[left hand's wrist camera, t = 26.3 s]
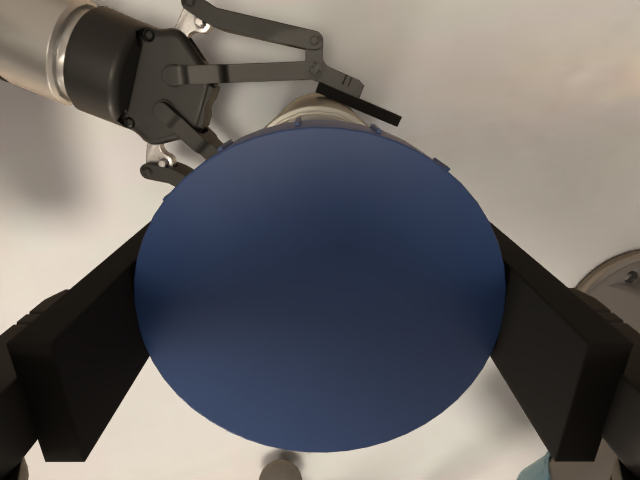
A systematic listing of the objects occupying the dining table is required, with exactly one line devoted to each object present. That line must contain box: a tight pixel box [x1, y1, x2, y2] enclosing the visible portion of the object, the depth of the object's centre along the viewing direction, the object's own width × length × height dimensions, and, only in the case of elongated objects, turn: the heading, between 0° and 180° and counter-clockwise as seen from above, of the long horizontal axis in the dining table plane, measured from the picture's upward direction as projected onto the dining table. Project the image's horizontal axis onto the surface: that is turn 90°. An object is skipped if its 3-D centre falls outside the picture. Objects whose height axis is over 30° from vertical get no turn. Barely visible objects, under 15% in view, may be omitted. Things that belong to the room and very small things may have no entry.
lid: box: [134, 117, 506, 452], centre depth 11 cm, size 9×9×2 cm
